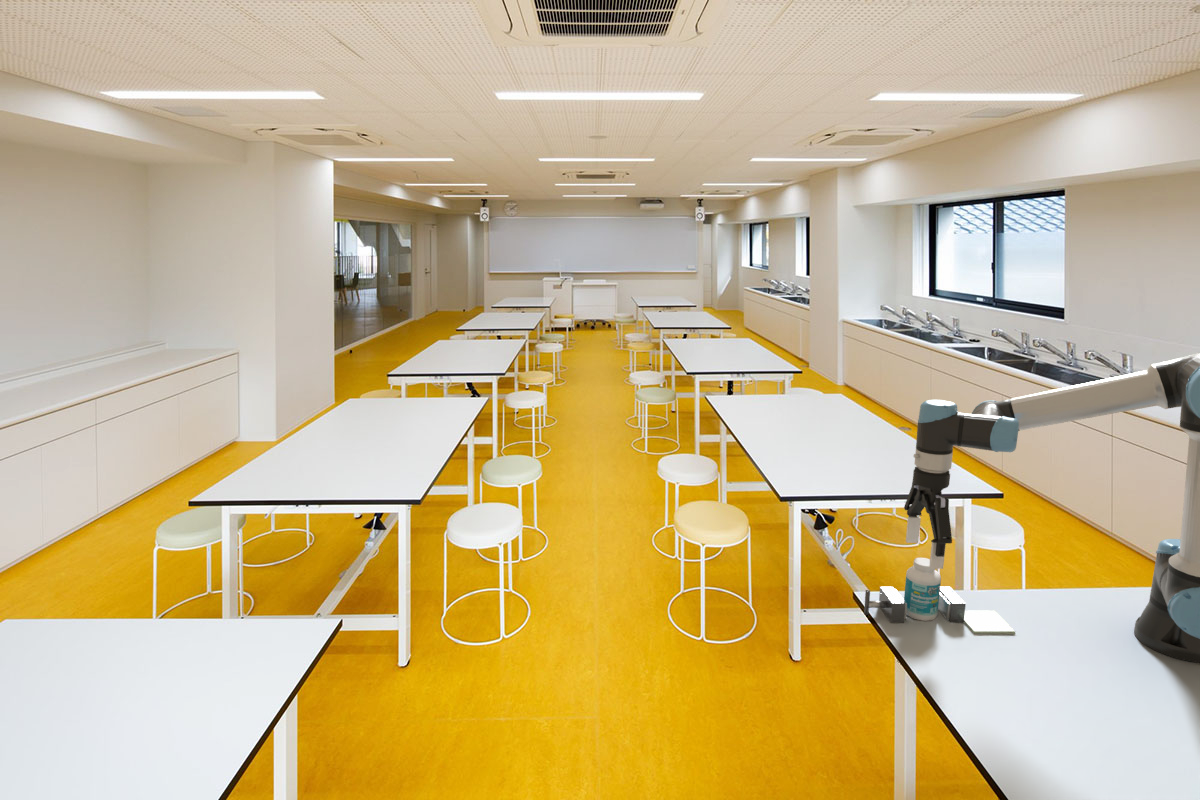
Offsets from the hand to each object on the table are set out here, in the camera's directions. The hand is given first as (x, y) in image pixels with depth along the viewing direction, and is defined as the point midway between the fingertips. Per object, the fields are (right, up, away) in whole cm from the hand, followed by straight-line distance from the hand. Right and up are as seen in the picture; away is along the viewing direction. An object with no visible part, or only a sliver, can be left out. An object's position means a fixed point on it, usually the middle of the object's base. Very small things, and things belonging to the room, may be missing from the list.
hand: (923, 554), depth 159 cm
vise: (-2, -16, +3) cm, 16 cm away
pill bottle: (+1, -15, +3) cm, 15 cm away
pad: (+13, -15, -1) cm, 21 cm away
